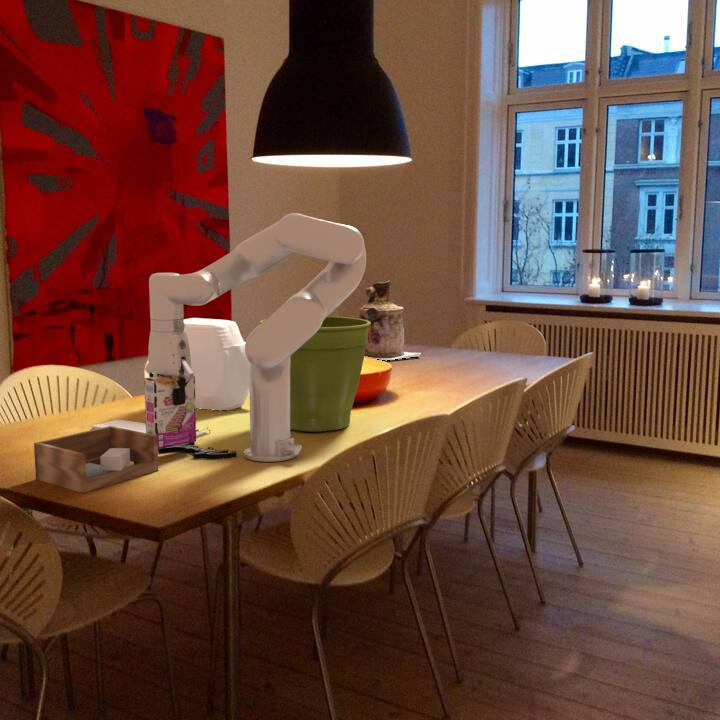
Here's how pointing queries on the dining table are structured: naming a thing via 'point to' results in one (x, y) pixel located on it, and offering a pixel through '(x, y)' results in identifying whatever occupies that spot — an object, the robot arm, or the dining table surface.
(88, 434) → the wooden divided box
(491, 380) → the dining table surface
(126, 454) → the offcut
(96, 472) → the offcut
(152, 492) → the dining table surface
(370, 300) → the cookie jar
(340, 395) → the plant pot
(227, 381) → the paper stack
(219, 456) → the nameplate
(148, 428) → the candy bar box
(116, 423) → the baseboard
